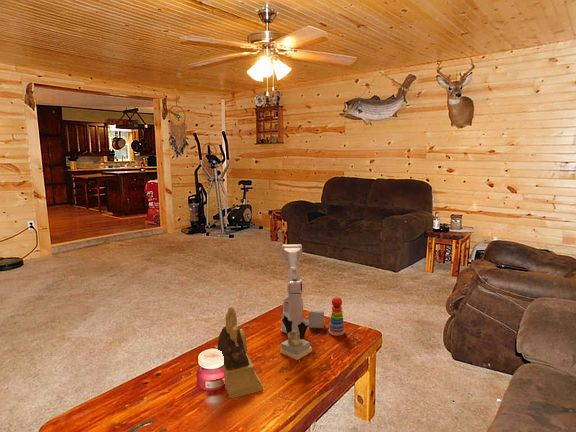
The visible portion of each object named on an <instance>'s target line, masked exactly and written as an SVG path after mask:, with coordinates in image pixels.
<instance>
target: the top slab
mask: <svg viewBox="0 0 576 432" xmlns="http://www.w3.org/2000/svg"><path fill="white" fill-rule="evenodd" d="M302 341H303V342H302V343H300V344H299V345H297V346H294V345H292V344H290V343H288V339H286V340H285V341H283V342H281V343H280V344H281V345H280V347H281V348H280V349H284V350H286V351H288V352H290V353H293V354H295V355H298V354H299V353H301V352H303V351H304V350H306V349H308V348H309V347H311V345H310V341H307V340H306V339H304V338H303V339H302Z"/></svg>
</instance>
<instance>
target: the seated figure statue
mask: <svg viewBox="0 0 576 432" xmlns="http://www.w3.org/2000/svg"><path fill="white" fill-rule="evenodd" d="M217 340H218V341H217V345H214V350H215V349H218V350H220V351H222V354H223V356H224V365H223V368H224V375H225V386H224V388H225V391H226V390H227V391H226V393H227V395H229V396H228V398H229V399H230V398H231V399H235V398H237V397H242V396H247V395H250V394H253V393H258V392H262V391H264V385H263V383H262V381H261V379H260V377H259V376H258V374H257V372H256V371H255V365H254V364H253V362H252V360H251V359H250V357H249V355H248V354H247V351H248V349H247V348H248V347H247V346H248V345H247V339H246V334H245V331H244V329H243V328H239V327H238V319H237V312H236V309H235V308H234V307H233V306H229V307H228V309H227V312H226V314H225V326H224V327H222V329H221V331H220V333H219V335H218V339H217Z"/></svg>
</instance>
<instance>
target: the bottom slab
mask: <svg viewBox="0 0 576 432" xmlns="http://www.w3.org/2000/svg"><path fill="white" fill-rule="evenodd" d="M312 352H313V347H312V346H310V347H309V348H308V349H306V350H304V351H303V352H301V353H299V354H298V355H295V354H293V353H290V352H288V351H286V350H284V349H281V348H280V354H283V355H285V356H288V357H289V358H292V359H294V360H296V361H298V360H300V359H301V358H303V357H304V356H307V355H308V354H310V353H312Z"/></svg>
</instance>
